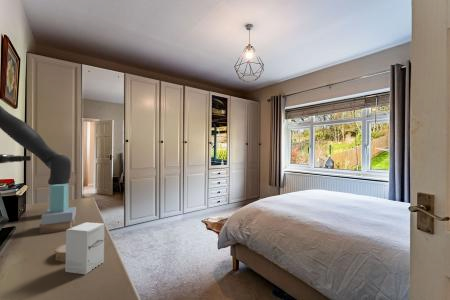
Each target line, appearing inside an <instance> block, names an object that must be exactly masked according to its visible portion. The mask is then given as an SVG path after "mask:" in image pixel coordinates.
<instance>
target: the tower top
mask: <svg viewBox="0 0 450 300" xmlns="http://www.w3.org/2000/svg"><path fill="white" fill-rule="evenodd" d="M76 215H77V206H72V207H70V206H69V208H68V209H67V210H66V211H64V212H55V213H50V209H48V208H47V210H46V211H45V212H44V213H43V214H42V215H41V223H42V225H45V224H53V223H62V222H70V221H73V219H74V217H75V216H76Z"/></svg>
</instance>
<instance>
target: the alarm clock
mask: <svg viewBox="0 0 450 300" xmlns="http://www.w3.org/2000/svg"><path fill="white" fill-rule="evenodd" d="M106 243H107V240H106V237H104V245H105V244H106ZM54 253H55V260H56V261H58V262H63V263H66V241H65V242H63V243H61V244H60V245H58V246H56V248H55V250H54Z"/></svg>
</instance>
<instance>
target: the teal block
mask: <svg viewBox="0 0 450 300" xmlns="http://www.w3.org/2000/svg"><path fill="white" fill-rule="evenodd" d="M67 209H68V184H55V185H53V186H51V207H50V213H55V212H64V211H66V210H67Z"/></svg>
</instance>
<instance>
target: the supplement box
mask: <svg viewBox="0 0 450 300" xmlns="http://www.w3.org/2000/svg"><path fill="white" fill-rule="evenodd" d="M104 238H105V223H102V222H87V221H86V222H83V223H80V224H78V225H74V226H73V227H72V228H70V229H67V230H66V232H65V242H66V262H65V268H64V269H65V273H71V274H77V273H78V274H79V275H88V273H90V272H92V271H93V270H94V269H96V268H97V267H99V266H101V265H102V264H103V263H105V244H104ZM101 263H102V264H101ZM98 265H99V266H98ZM95 267H96V268H95ZM92 269H93V270H92Z"/></svg>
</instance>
